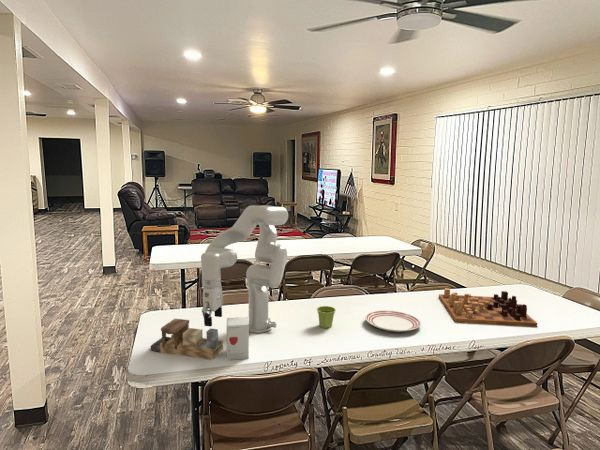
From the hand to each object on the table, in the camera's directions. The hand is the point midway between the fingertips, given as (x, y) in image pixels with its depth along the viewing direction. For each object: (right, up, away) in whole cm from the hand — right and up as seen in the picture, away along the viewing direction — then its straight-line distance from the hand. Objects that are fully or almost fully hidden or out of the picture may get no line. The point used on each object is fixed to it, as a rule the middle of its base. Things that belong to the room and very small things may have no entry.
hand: (213, 321), depth 178 cm
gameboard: (+138, -8, +59) cm, 150 cm away
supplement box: (+10, -15, +1) cm, 18 cm away
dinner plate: (+83, -10, +36) cm, 91 cm away
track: (-12, -13, +4) cm, 18 cm away
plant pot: (+49, -10, +33) cm, 60 cm away
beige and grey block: (-6, -11, +2) cm, 12 cm away
